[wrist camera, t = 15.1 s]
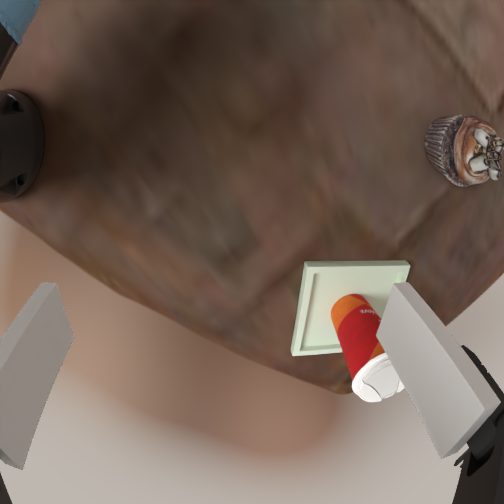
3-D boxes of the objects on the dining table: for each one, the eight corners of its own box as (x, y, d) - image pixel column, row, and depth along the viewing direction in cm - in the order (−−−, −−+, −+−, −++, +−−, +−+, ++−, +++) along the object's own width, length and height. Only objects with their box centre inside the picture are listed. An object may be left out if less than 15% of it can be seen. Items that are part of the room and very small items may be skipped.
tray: (290, 349, 49) (292, 356, 47) (304, 260, 42) (307, 266, 40) (378, 341, 50) (382, 347, 49) (405, 260, 43) (410, 265, 42)
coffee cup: (377, 317, 47) (418, 385, 34) (330, 338, 48) (361, 412, 34) (368, 277, 43) (417, 347, 30) (316, 300, 44) (349, 379, 31)
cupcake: (418, 109, 33) (467, 117, 24) (468, 113, 34) (517, 123, 25) (418, 179, 38) (464, 203, 29) (467, 175, 38) (512, 197, 29)
